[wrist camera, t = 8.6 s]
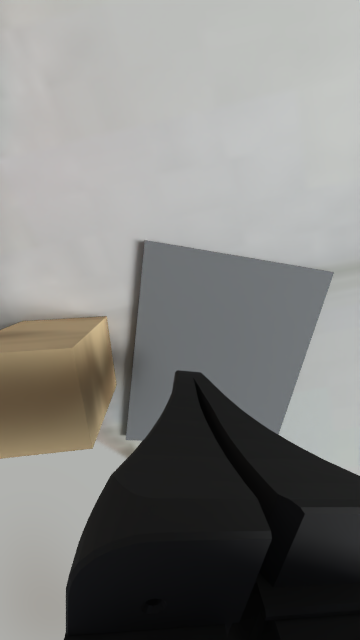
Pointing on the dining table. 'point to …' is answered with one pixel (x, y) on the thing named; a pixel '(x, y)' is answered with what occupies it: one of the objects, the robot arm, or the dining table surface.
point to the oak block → (54, 385)
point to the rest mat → (221, 330)
